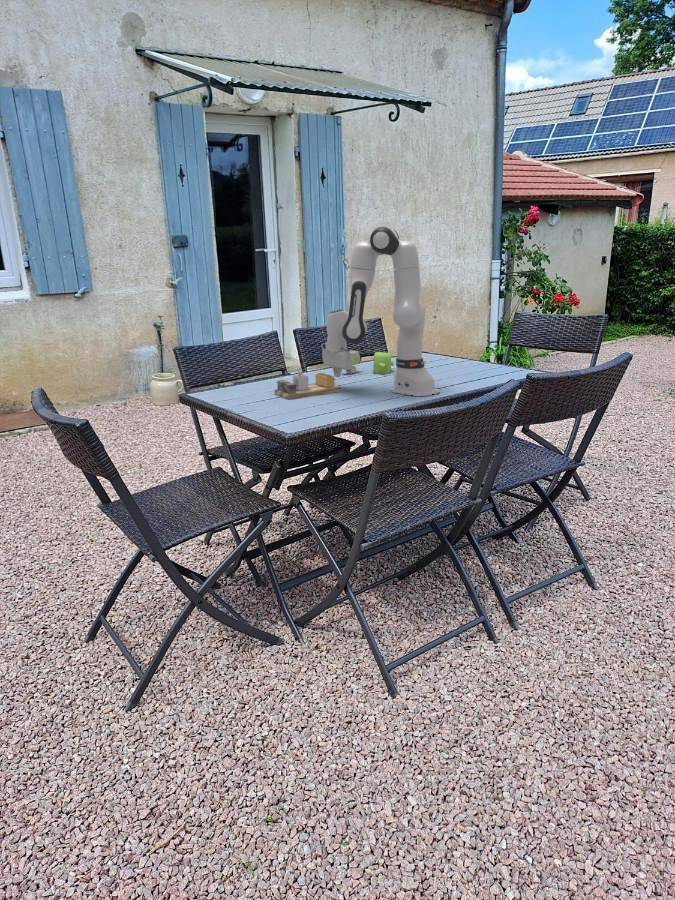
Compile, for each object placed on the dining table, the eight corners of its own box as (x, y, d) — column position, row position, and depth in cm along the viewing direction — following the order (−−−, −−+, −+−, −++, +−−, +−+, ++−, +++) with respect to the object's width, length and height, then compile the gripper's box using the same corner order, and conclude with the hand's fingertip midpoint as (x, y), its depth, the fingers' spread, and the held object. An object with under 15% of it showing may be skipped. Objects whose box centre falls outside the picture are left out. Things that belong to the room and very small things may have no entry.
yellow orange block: (334, 386, 299) (334, 375, 298) (326, 387, 297) (326, 376, 296) (323, 382, 308) (322, 372, 306) (315, 383, 306) (315, 373, 304)
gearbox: (392, 376, 332) (393, 357, 329) (372, 375, 333) (373, 356, 330) (394, 369, 349) (394, 351, 346) (375, 368, 350) (375, 350, 347)
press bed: (340, 391, 299) (340, 378, 298) (289, 399, 287) (288, 386, 285) (324, 386, 311) (324, 373, 309) (274, 393, 298) (274, 380, 296)
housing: (308, 389, 296) (307, 371, 293) (298, 390, 293) (297, 372, 291) (303, 387, 300) (302, 369, 297) (293, 388, 297) (292, 371, 295)
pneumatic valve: (339, 374, 338) (339, 350, 334) (355, 370, 346) (355, 347, 342) (347, 375, 334) (347, 351, 330) (363, 372, 342) (363, 348, 338)
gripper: (355, 348, 294) (355, 379, 298) (331, 342, 311) (331, 372, 315) (343, 350, 291) (343, 381, 295) (319, 344, 308) (320, 373, 312)
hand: (337, 376), depth 305 cm, fingers closed
